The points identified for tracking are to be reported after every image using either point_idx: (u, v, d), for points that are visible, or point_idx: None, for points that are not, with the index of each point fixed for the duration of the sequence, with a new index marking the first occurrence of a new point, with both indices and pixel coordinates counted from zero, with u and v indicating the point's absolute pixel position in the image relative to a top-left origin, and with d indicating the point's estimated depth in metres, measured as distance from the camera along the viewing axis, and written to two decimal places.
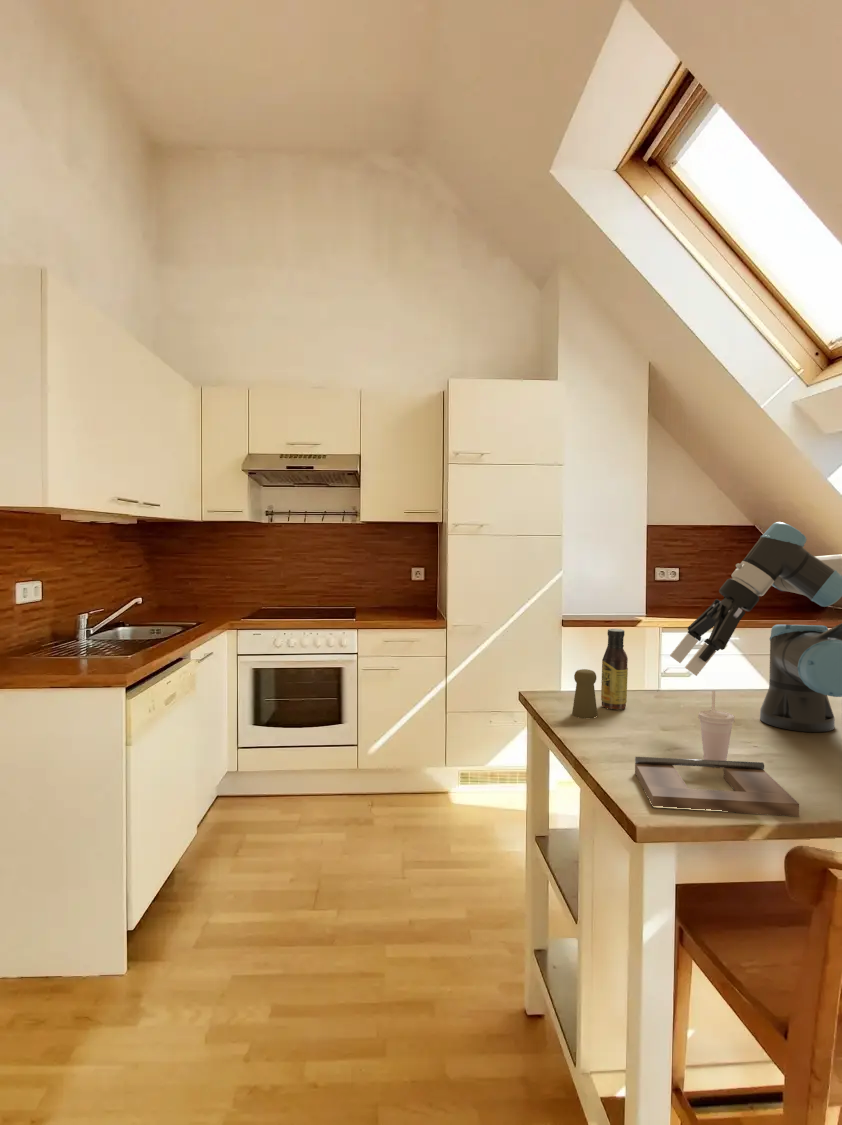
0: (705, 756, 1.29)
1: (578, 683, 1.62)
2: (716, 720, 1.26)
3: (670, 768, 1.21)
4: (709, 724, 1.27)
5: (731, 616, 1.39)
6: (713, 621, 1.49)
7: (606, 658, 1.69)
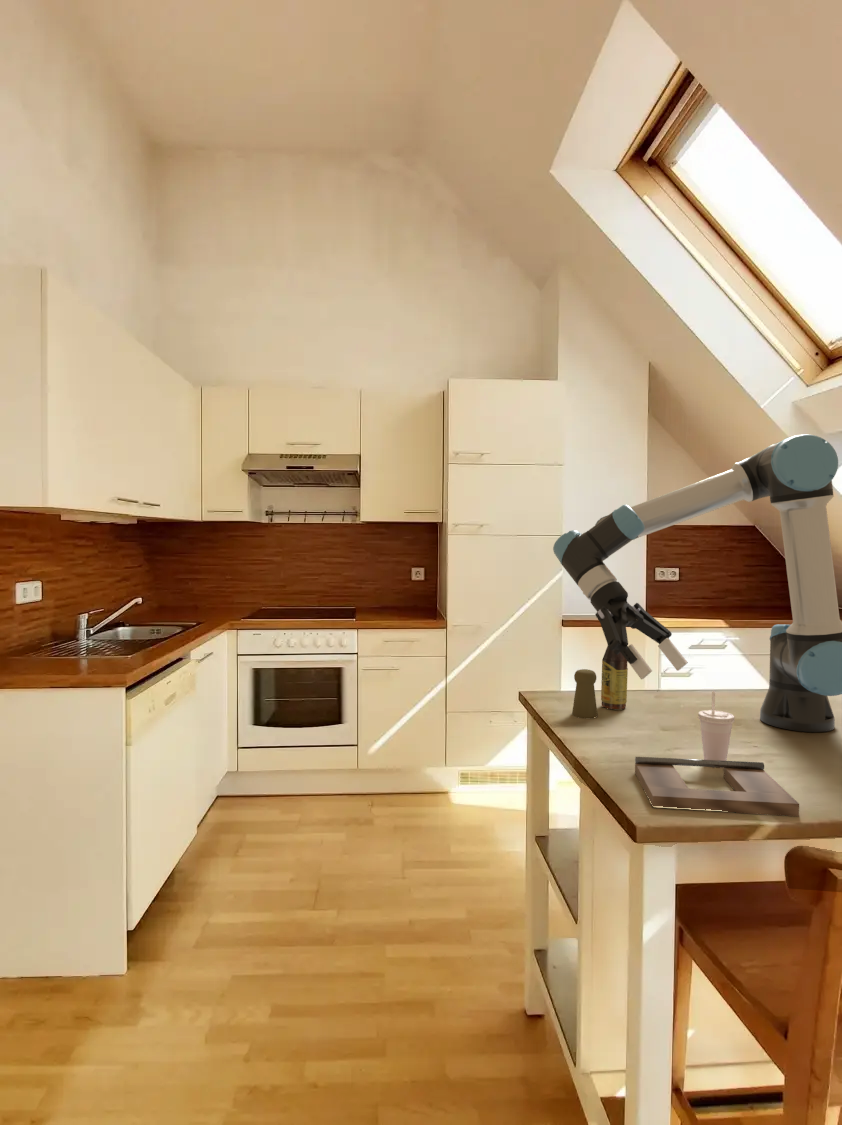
0: (705, 756, 1.29)
1: (578, 683, 1.62)
2: (716, 720, 1.26)
3: (670, 768, 1.21)
4: (709, 724, 1.27)
5: (601, 621, 1.39)
6: (639, 623, 1.44)
7: (606, 658, 1.69)
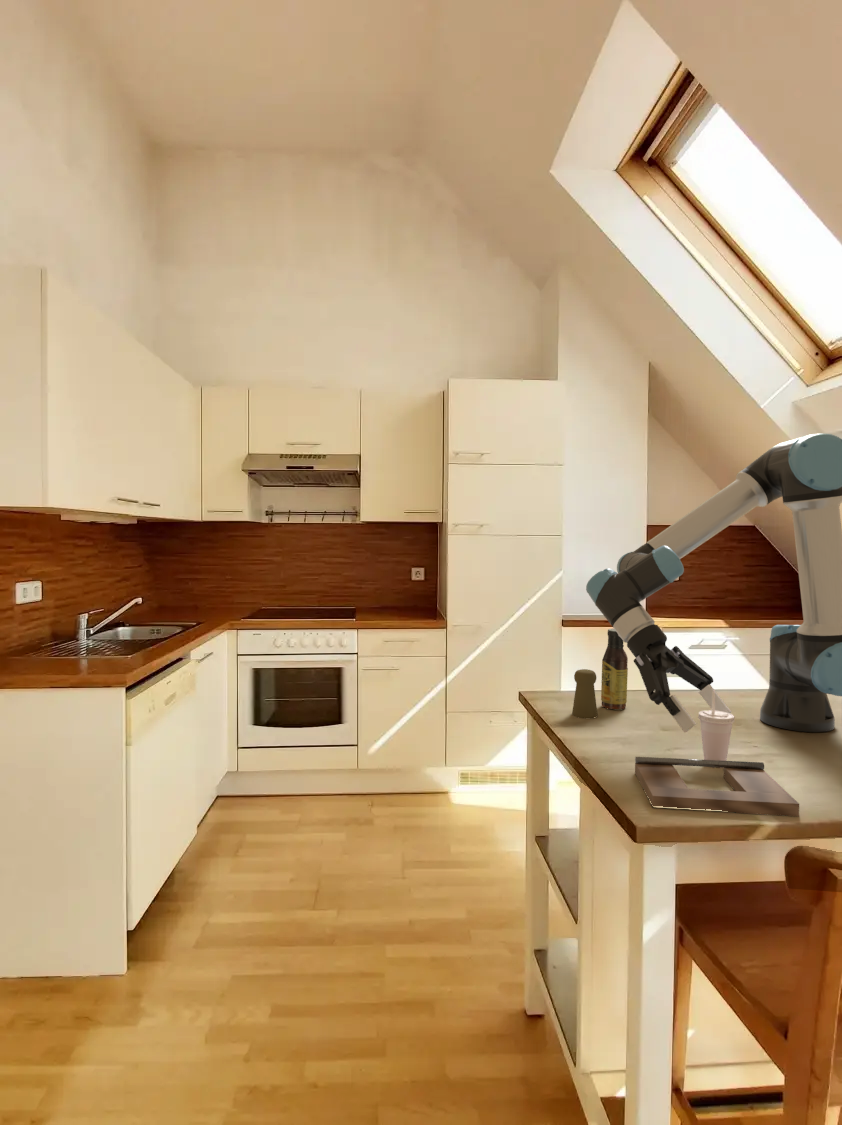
0: (705, 756, 1.29)
1: (578, 683, 1.62)
2: (716, 720, 1.26)
3: (670, 768, 1.21)
4: (709, 724, 1.27)
5: (640, 668, 1.32)
6: (679, 668, 1.37)
7: (606, 658, 1.69)
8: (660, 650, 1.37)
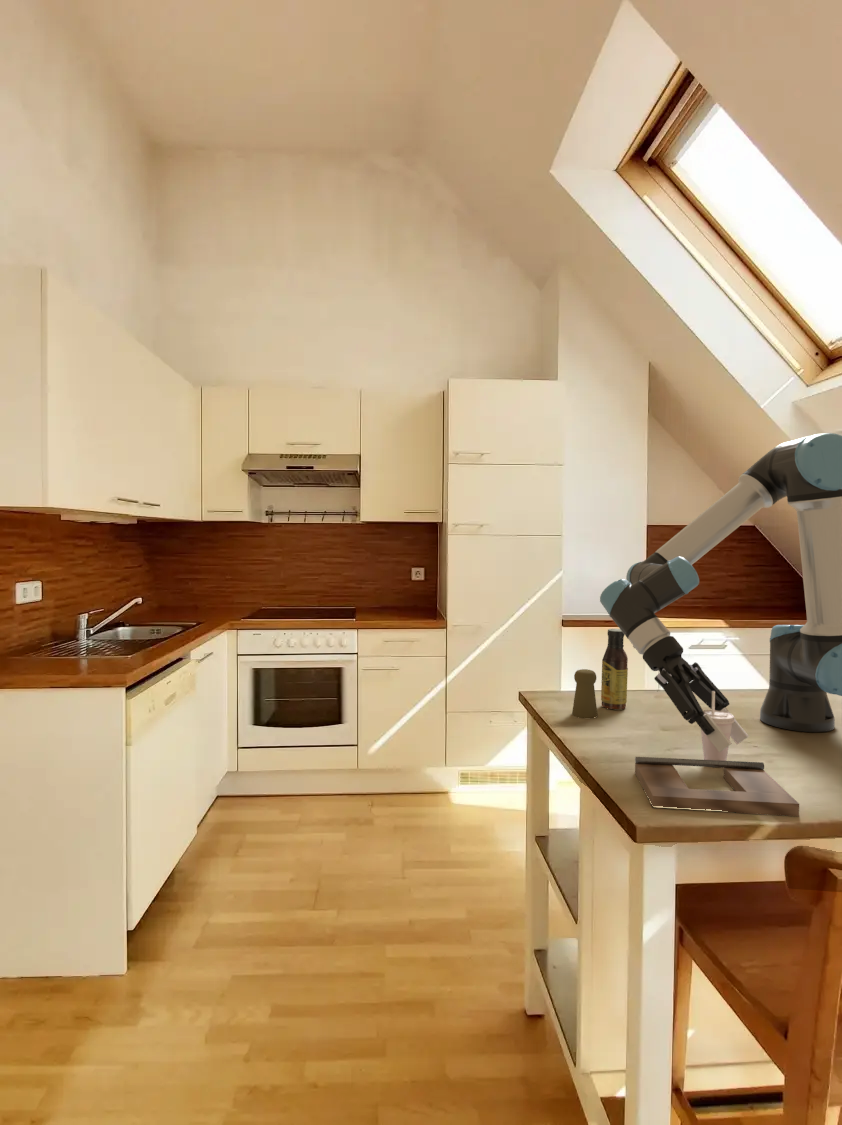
0: (705, 756, 1.29)
1: (578, 683, 1.62)
2: (716, 720, 1.26)
3: (670, 768, 1.21)
4: None
5: (665, 687, 1.30)
6: (694, 684, 1.34)
7: (606, 658, 1.69)
8: (677, 662, 1.35)
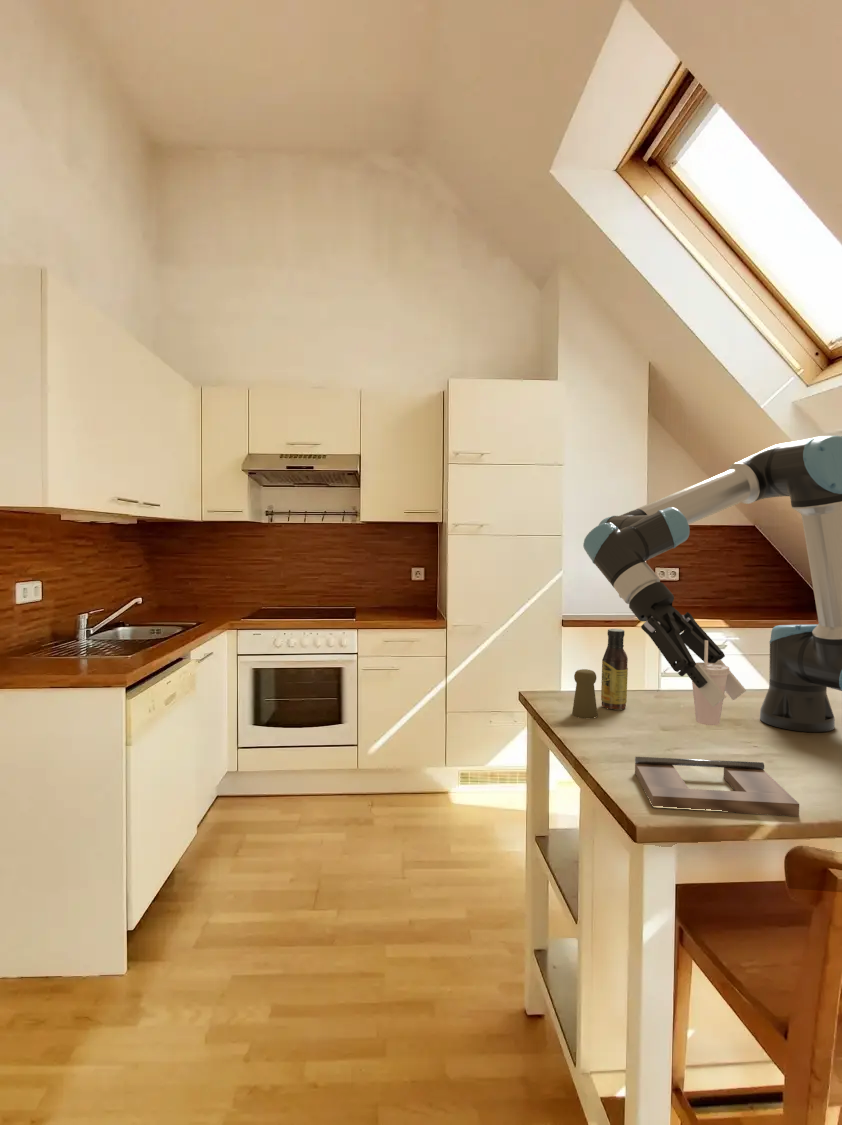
0: (697, 713, 1.16)
1: (578, 683, 1.62)
2: (708, 671, 1.13)
3: (670, 768, 1.21)
4: None
5: (652, 635, 1.17)
6: (685, 634, 1.21)
7: (606, 658, 1.69)
8: (666, 611, 1.22)
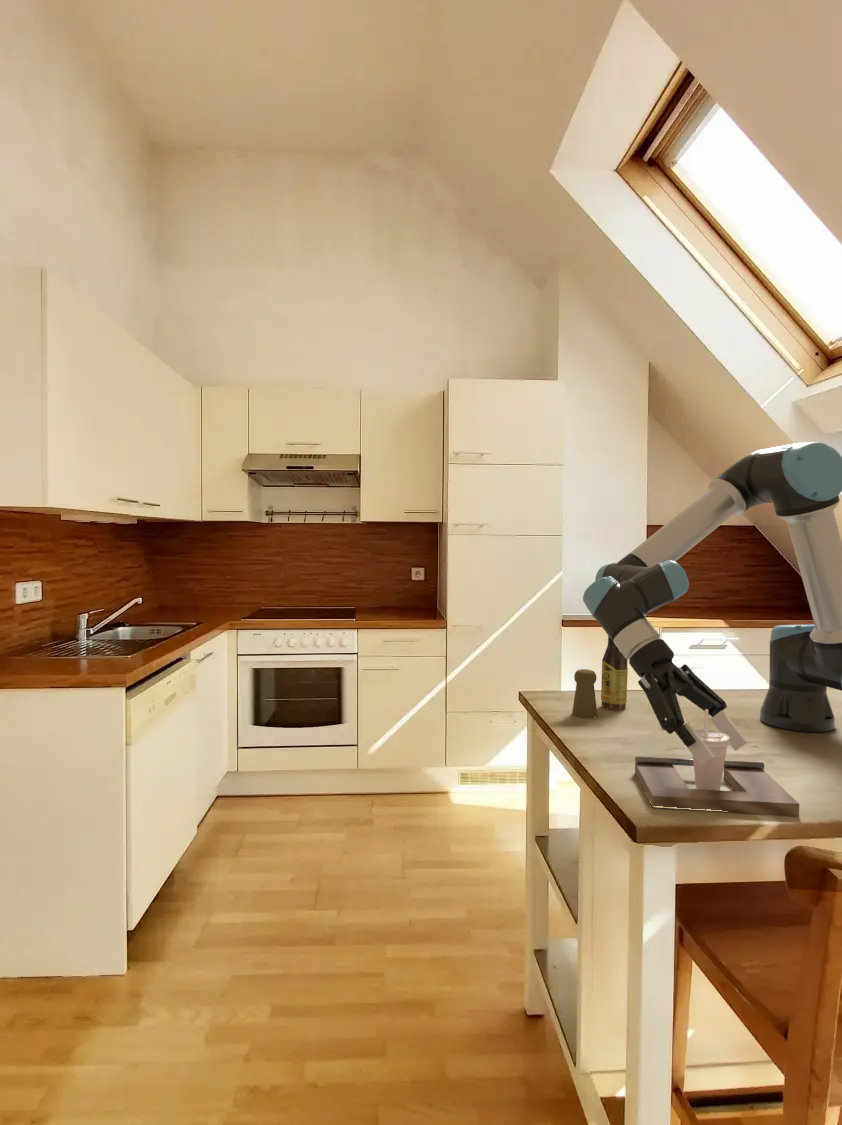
0: (697, 781, 1.16)
1: (578, 683, 1.62)
2: (709, 743, 1.13)
3: (670, 768, 1.21)
4: None
5: (647, 691, 1.17)
6: (687, 690, 1.21)
7: (606, 658, 1.69)
8: (666, 668, 1.22)
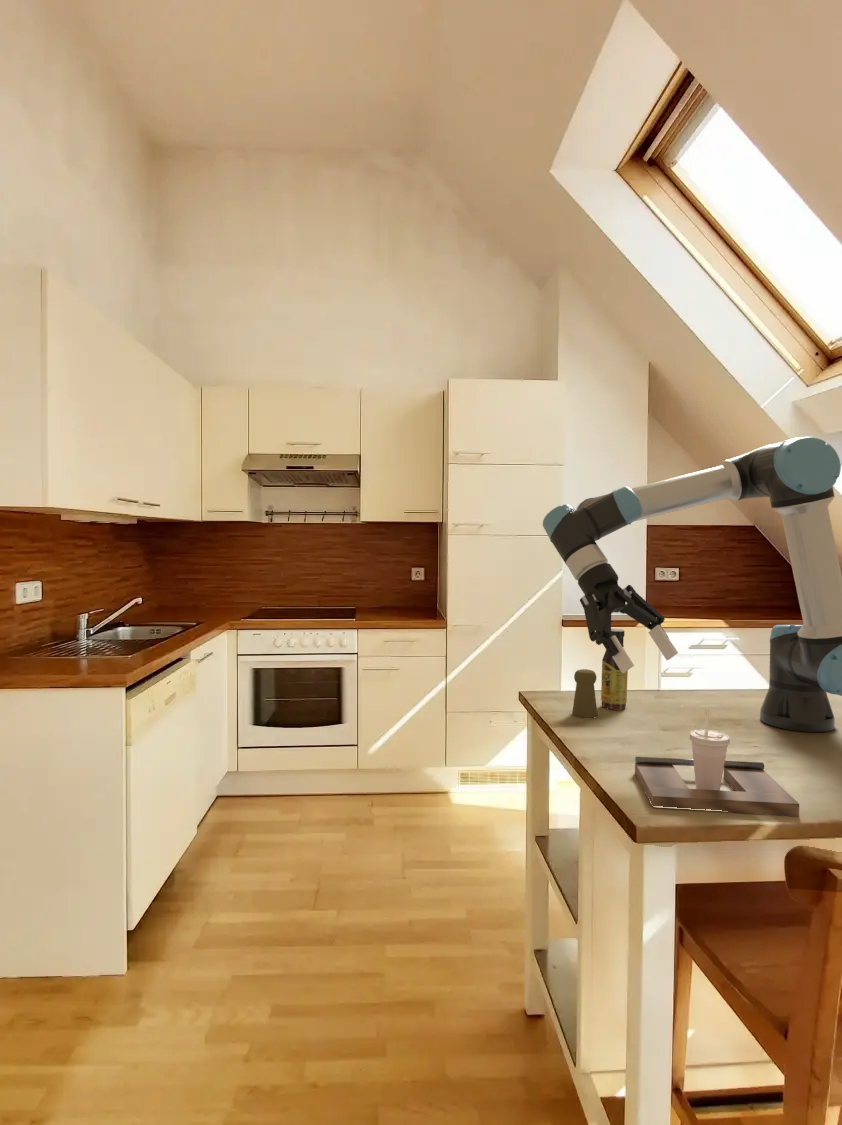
0: (697, 781, 1.16)
1: (578, 683, 1.62)
2: (709, 742, 1.13)
3: (670, 768, 1.21)
4: (701, 746, 1.14)
5: (585, 608, 1.31)
6: (628, 608, 1.35)
7: (606, 658, 1.69)
8: (610, 589, 1.35)
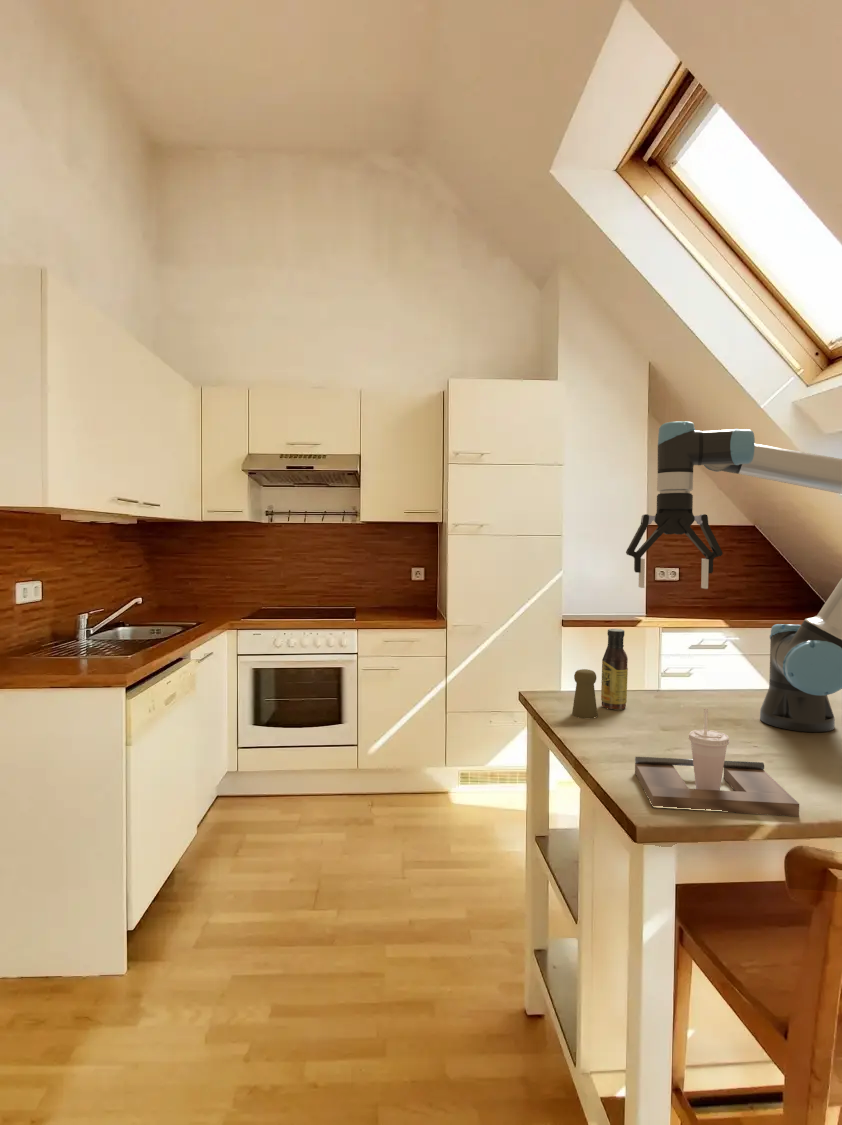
0: (697, 781, 1.16)
1: (578, 683, 1.62)
2: (708, 742, 1.13)
3: (670, 768, 1.21)
4: (700, 746, 1.14)
5: (640, 525, 1.53)
6: (688, 535, 1.51)
7: (606, 658, 1.69)
8: (676, 515, 1.50)
